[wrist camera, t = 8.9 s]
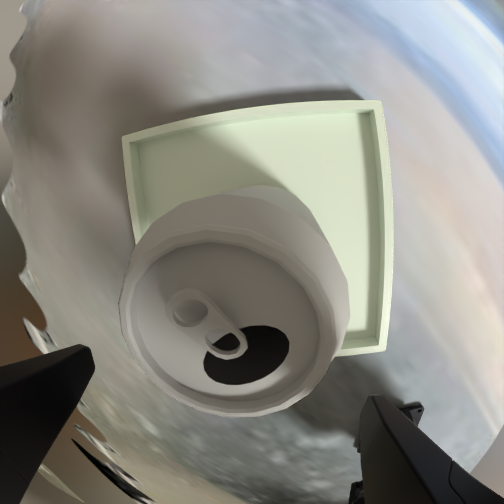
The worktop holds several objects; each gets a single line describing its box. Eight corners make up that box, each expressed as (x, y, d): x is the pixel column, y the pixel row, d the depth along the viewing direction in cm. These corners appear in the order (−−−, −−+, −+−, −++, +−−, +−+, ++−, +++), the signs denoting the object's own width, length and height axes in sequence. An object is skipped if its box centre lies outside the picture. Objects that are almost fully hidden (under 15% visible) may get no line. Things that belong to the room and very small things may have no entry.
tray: (378, 336, 20) (385, 350, 18) (173, 345, 23) (164, 358, 21) (372, 107, 16) (381, 100, 14) (135, 138, 19) (121, 136, 17)
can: (253, 314, 20) (211, 453, 9) (185, 231, 19) (63, 304, 8) (342, 253, 18) (406, 367, 7) (271, 160, 17) (235, 128, 6)
